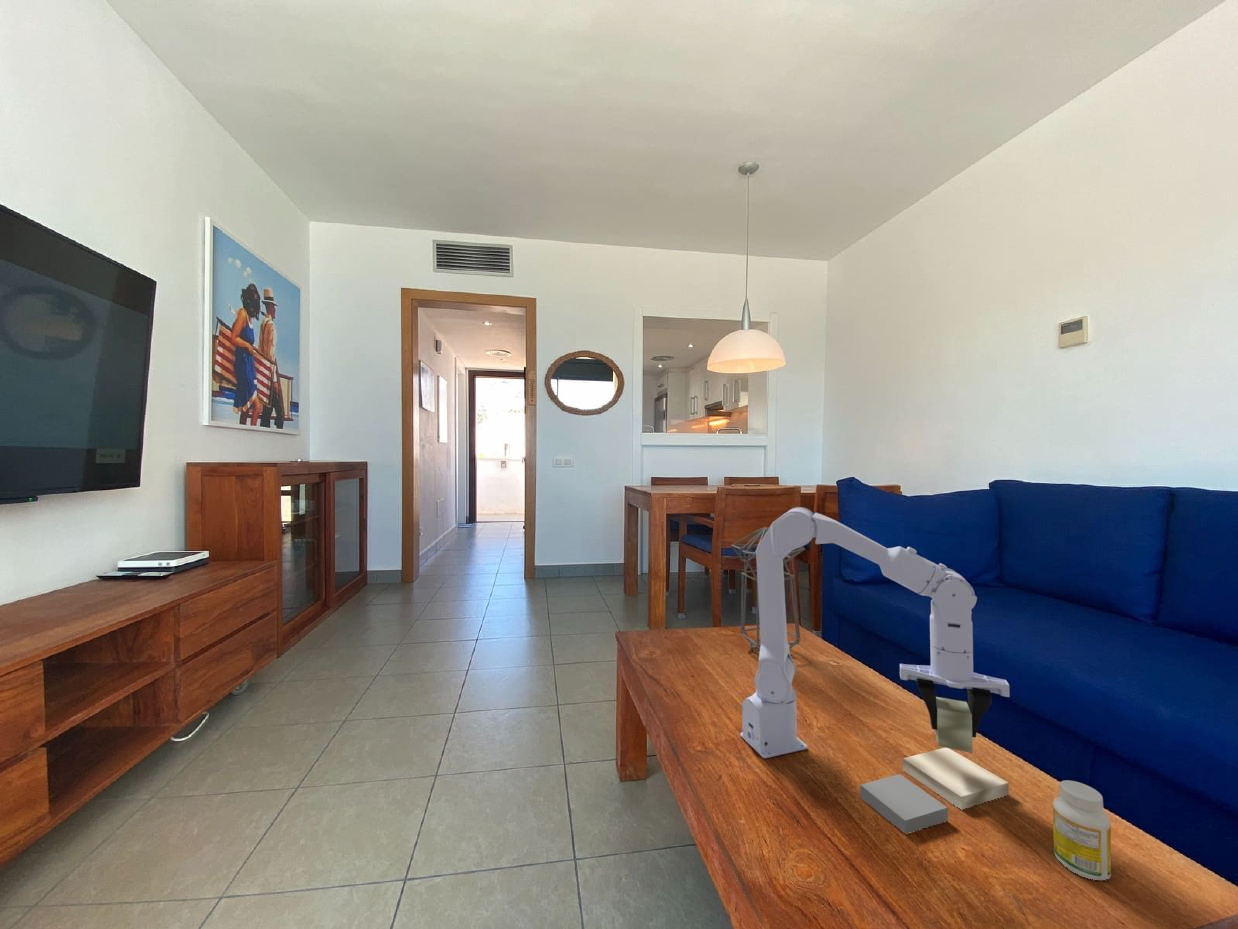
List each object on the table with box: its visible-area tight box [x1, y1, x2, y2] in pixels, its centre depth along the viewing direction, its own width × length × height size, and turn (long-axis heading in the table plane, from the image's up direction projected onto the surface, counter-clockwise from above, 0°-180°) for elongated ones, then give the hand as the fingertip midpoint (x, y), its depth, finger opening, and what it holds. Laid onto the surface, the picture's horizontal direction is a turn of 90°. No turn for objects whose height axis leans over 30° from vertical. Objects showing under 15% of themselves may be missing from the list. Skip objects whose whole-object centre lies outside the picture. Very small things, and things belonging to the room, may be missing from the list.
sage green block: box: [934, 696, 974, 754], centre depth 78 cm, size 4×4×6 cm
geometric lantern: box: [729, 526, 806, 655], centre depth 133 cm, size 16×16×35 cm
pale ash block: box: [902, 747, 1010, 811], centre depth 78 cm, size 10×10×2 cm
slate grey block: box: [859, 773, 949, 835], centre depth 72 cm, size 8×8×2 cm
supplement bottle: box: [1052, 779, 1112, 881], centre depth 62 cm, size 5×5×10 cm
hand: (952, 730), depth 78 cm, fingers closed on sage green block, 4 cm apart
